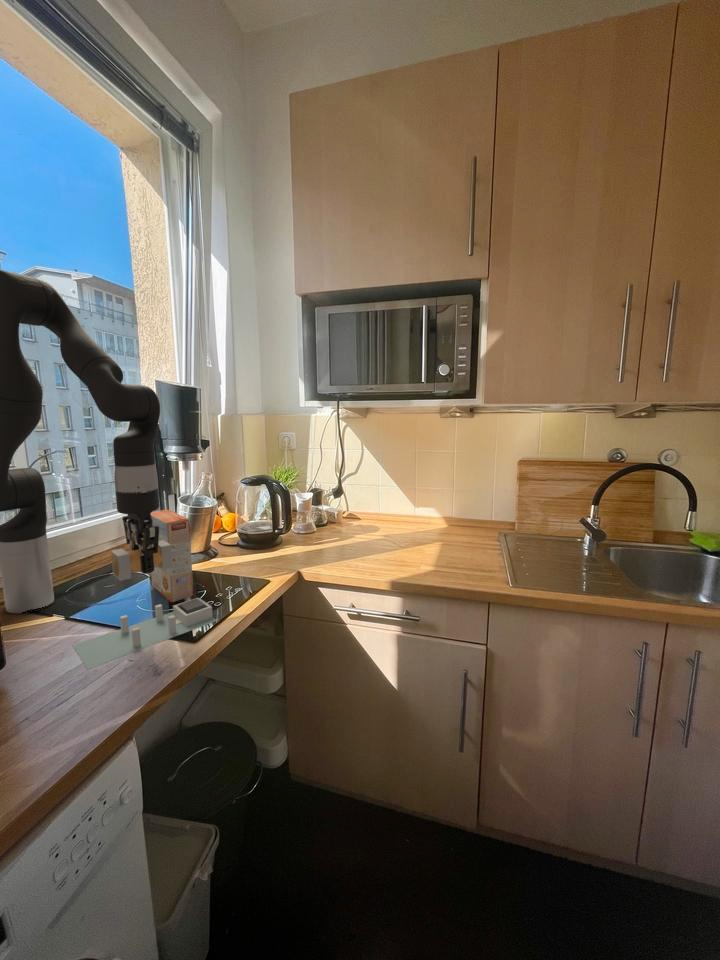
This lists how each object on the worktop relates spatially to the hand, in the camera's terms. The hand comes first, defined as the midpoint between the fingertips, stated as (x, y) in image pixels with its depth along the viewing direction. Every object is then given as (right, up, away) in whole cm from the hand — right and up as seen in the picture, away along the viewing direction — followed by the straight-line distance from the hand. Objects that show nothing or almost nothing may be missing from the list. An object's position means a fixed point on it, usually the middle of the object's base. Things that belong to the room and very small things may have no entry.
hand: (143, 568), depth 85 cm
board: (0, -15, +3) cm, 15 cm away
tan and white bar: (0, -1, 0) cm, 0 cm away
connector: (+6, -13, +9) cm, 17 cm away
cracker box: (-4, -12, +23) cm, 26 cm away
